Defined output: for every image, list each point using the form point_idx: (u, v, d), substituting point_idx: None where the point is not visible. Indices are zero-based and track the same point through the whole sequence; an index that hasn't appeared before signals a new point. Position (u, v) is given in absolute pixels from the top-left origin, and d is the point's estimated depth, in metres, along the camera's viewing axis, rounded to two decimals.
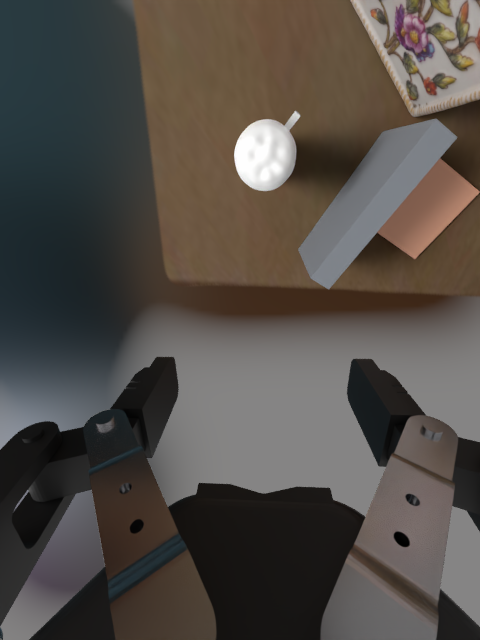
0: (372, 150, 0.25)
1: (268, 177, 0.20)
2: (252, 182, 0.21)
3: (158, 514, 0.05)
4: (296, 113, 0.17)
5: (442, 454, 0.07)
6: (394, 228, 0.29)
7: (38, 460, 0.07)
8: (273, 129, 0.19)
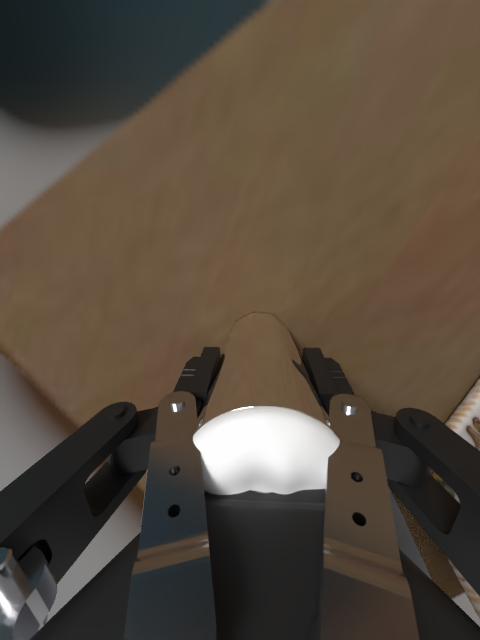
0: None
1: None
2: None
3: (195, 506, 0.05)
4: None
5: (351, 424, 0.08)
6: None
7: (113, 439, 0.08)
8: None
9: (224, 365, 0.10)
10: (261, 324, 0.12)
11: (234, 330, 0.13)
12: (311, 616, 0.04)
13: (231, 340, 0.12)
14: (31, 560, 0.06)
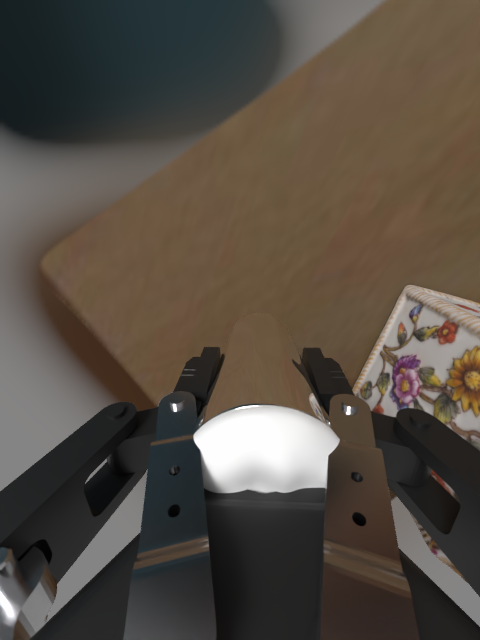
0: None
1: None
2: None
3: (195, 507, 0.05)
4: None
5: (351, 424, 0.08)
6: None
7: (113, 438, 0.08)
8: None
9: (224, 365, 0.10)
10: (261, 324, 0.12)
11: (234, 330, 0.13)
12: (311, 616, 0.04)
13: (231, 340, 0.12)
14: (31, 560, 0.06)
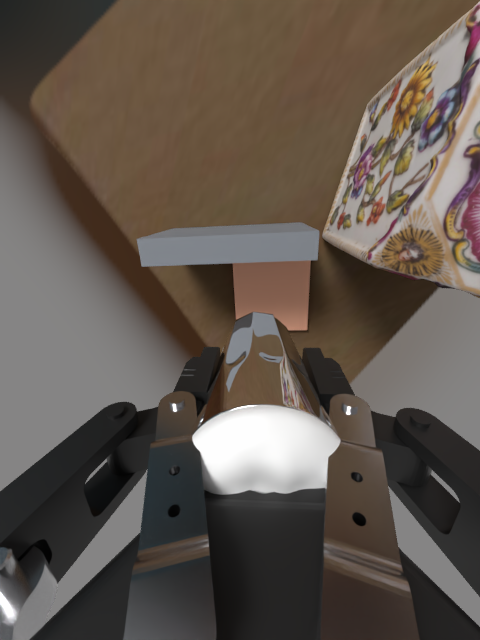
0: (283, 223, 0.26)
1: None
2: None
3: (195, 507, 0.05)
4: None
5: (351, 424, 0.08)
6: (245, 294, 0.30)
7: (113, 439, 0.08)
8: None
9: (224, 364, 0.10)
10: (260, 323, 0.12)
11: (233, 330, 0.13)
12: (311, 616, 0.04)
13: (230, 339, 0.12)
14: (31, 560, 0.06)
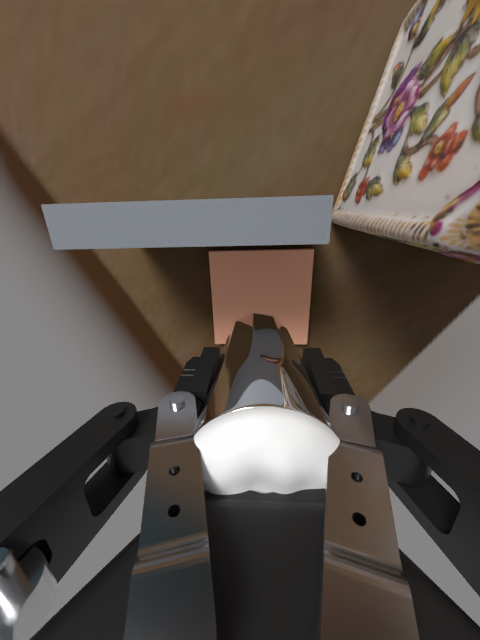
0: None
1: None
2: None
3: (195, 507, 0.05)
4: None
5: (351, 424, 0.08)
6: (226, 296, 0.22)
7: (113, 439, 0.08)
8: None
9: (224, 365, 0.10)
10: (261, 324, 0.12)
11: (234, 330, 0.13)
12: (311, 616, 0.04)
13: (231, 340, 0.12)
14: (31, 560, 0.06)
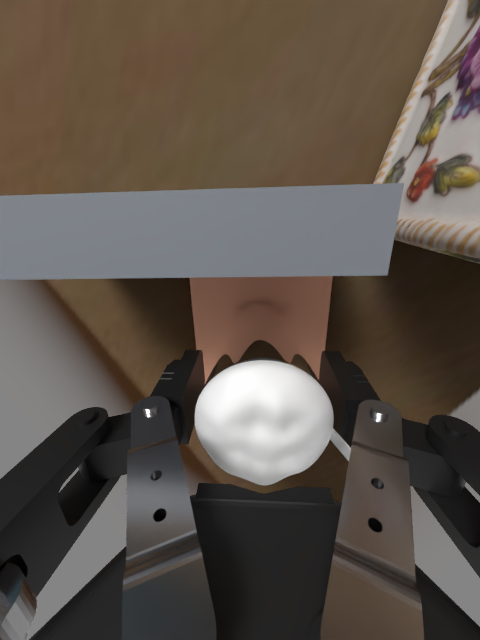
0: None
1: (232, 468, 0.08)
2: (203, 439, 0.09)
3: (181, 507, 0.05)
4: None
5: (384, 432, 0.08)
6: (214, 327, 0.17)
7: (86, 444, 0.08)
8: (319, 428, 0.08)
9: (229, 340, 0.12)
10: (261, 310, 0.14)
11: (237, 317, 0.15)
12: (316, 610, 0.04)
13: (234, 324, 0.14)
14: (7, 576, 0.05)
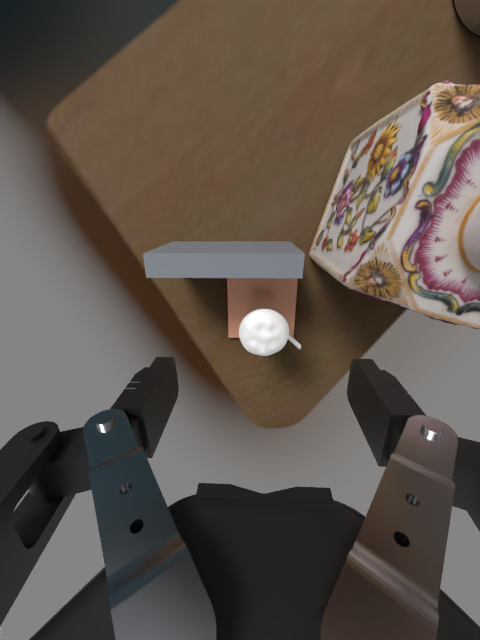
0: (274, 242, 0.29)
1: (253, 346, 0.24)
2: (242, 336, 0.24)
3: (158, 514, 0.05)
4: (300, 346, 0.23)
5: (442, 454, 0.07)
6: (238, 304, 0.32)
7: (38, 460, 0.07)
8: (283, 331, 0.24)
9: (249, 305, 0.27)
10: (262, 295, 0.30)
11: (251, 298, 0.30)
12: (325, 603, 0.04)
13: (250, 300, 0.29)
14: None
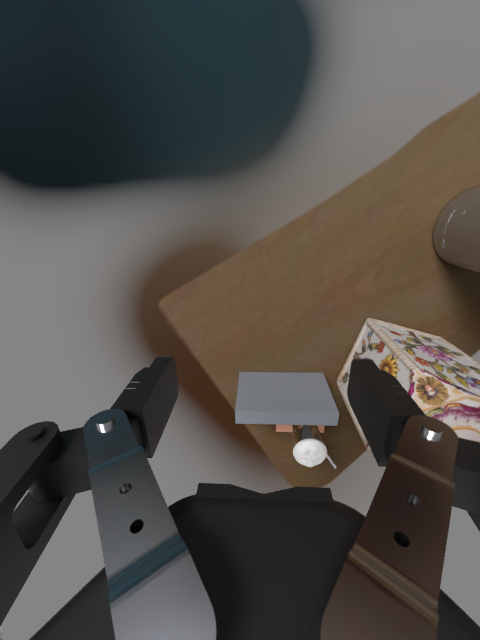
0: (312, 376, 0.42)
1: (303, 463, 0.37)
2: (296, 456, 0.37)
3: (158, 514, 0.05)
4: (335, 467, 0.36)
5: (442, 454, 0.07)
6: None
7: (38, 460, 0.07)
8: (323, 454, 0.36)
9: (297, 426, 0.40)
10: None
11: None
12: (325, 603, 0.04)
13: None
14: None
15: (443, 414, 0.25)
